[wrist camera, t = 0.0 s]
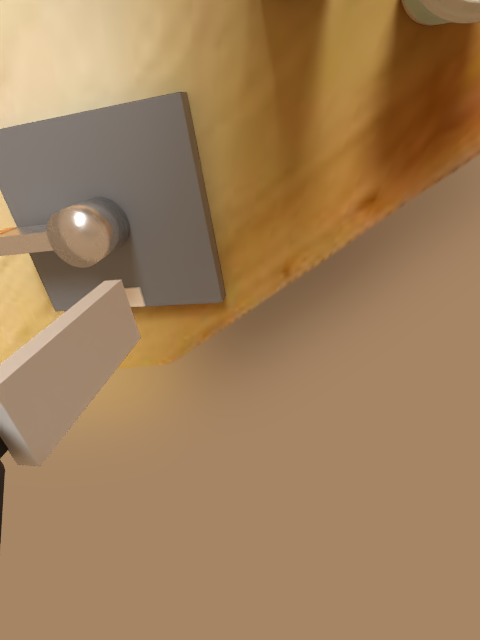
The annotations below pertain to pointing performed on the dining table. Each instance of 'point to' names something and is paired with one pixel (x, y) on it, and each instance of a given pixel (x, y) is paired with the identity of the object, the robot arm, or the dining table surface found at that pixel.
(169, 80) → the dining table surface
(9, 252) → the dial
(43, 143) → the grey base plate
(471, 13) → the coffee cup
